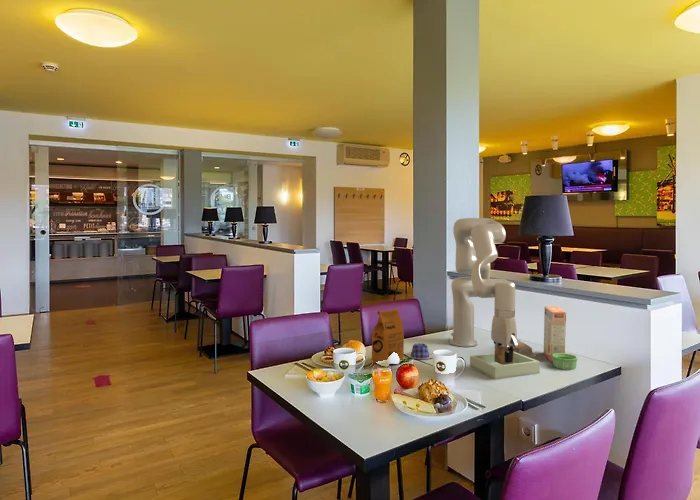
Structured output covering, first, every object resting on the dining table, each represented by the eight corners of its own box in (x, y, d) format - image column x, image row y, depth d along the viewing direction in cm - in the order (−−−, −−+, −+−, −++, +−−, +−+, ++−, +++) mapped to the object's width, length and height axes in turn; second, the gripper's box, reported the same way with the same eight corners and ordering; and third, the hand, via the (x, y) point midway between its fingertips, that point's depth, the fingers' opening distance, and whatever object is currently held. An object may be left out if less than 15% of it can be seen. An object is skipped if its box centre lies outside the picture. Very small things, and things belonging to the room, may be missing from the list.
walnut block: (494, 361, 184) (494, 346, 184) (505, 360, 186) (505, 345, 185) (502, 364, 179) (502, 349, 179) (513, 363, 181) (513, 348, 181)
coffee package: (368, 362, 193) (367, 309, 192) (390, 357, 201) (390, 306, 200) (384, 368, 186) (384, 313, 184) (407, 362, 193) (407, 309, 192)
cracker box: (565, 363, 191) (566, 312, 190) (550, 362, 192) (550, 311, 191) (557, 353, 205) (558, 306, 203) (543, 353, 206) (543, 305, 205)
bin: (470, 366, 187) (470, 355, 186) (511, 361, 193) (511, 350, 193) (495, 379, 172) (495, 367, 171) (539, 373, 178) (539, 361, 178)
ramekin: (582, 368, 185) (582, 357, 184) (567, 371, 180) (568, 360, 180) (561, 362, 192) (562, 351, 192) (547, 365, 188) (547, 355, 188)
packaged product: (537, 346, 200) (514, 347, 199) (537, 358, 200) (514, 358, 199) (519, 336, 217) (498, 337, 217) (519, 347, 218) (498, 347, 217)
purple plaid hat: (431, 352, 209) (431, 341, 208) (436, 360, 197) (436, 348, 196) (404, 353, 209) (404, 341, 208) (407, 360, 197) (407, 348, 196)
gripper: (483, 310, 188) (482, 355, 189) (511, 318, 172) (510, 367, 173) (498, 309, 191) (498, 353, 192) (527, 316, 175) (527, 365, 176)
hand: (504, 359), depth 182 cm, fingers closed on walnut block, 4 cm apart
